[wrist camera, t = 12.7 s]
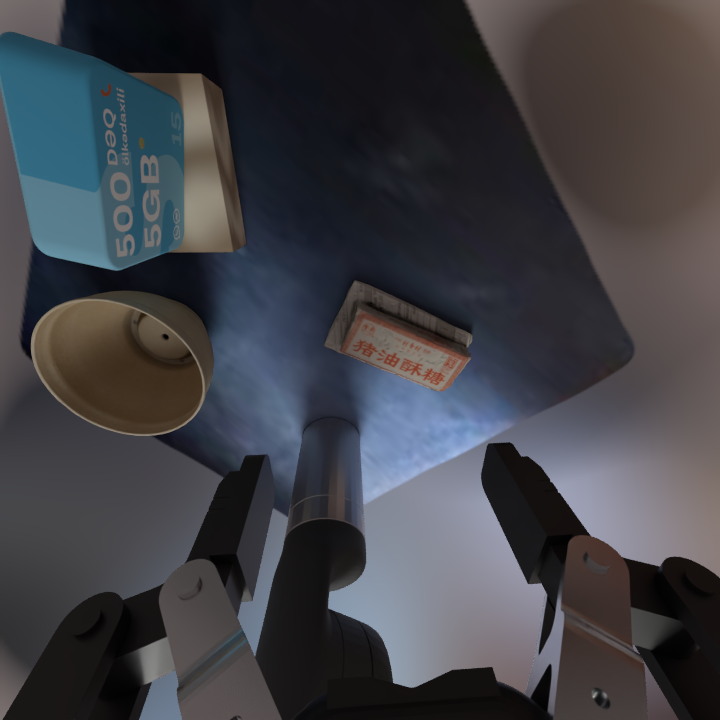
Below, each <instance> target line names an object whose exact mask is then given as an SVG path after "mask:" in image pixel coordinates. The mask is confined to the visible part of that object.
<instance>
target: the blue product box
mask: <svg viewBox="0 0 720 720" xmlns="http://www.w3.org/2000/svg"><path fill="white" fill-rule="evenodd" d="M0 90H1V94H2V99H3V103H4V109H5V113H6V118H7V123H8V127H9V132H10V137H11V141H12V146H13V151H14V155H15V160H16V165H17V169H18V174H19V179H20V184H21V188H22V193H23V197H24V203H25V207H26V212H27V217H28V221H29V226H30V231H31V235H32V238H33V241H34V243H35V245H36V246H37V247H38V249H39V250H40V251H42V252H43V253H44V254H46V255H48V256H51V257H56V258H60V259H65V260H69V261H74V262H79V263H83V264H88V265H92V266H97V267H101V268H106V269H110V270H116V271H117V270H122V269H125V268H127V267H130V266H133V265H135V264H138V263H140V262H143V261H146V260H148V259H151V258H154V257H156V256H159V255H162V254H164V253H167V252H169V251H172V250H175V249H177V248H178V247H179V246H180V245H181V243H182V241H183V237H184V121H183V114H182V110H181V107H180V104H179V103H178V101H177V100H176V99H175V98H174V97H173V96H171V95H169V94H167V93H165V92H163V91H161V90H159V89H158V88H156V87H154V86H152V85H150V84H148V83H146V82H144V81H142V80H140V79H138V78H136V77H134V76H132V75H130V74H128V73H126V72H124V71H122V70H120V69H118V68H116V67H114V66H112V65H111V64H109V63H107V62H105V61H103V60H101V59H99V58H96V57H93V56H90V55H86V54H83V53H80V52H77V51H73V50H70V49H67V48H64V47H60V46H57V45H54V44H51V43H47V42H44V41H41V40H37V39H34V38H31V37H27V36H25V35H21V34H18V33H15V32H5V33H2V34H1V35H0Z"/></svg>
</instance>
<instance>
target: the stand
mask: <svg viewBox="0 0 720 720" xmlns="http://www.w3.org/2000/svg"><path fill="white" fill-rule="evenodd" d="M128 74H130V75H132V76H134V77H136V78H138V79H140V80H142V81H144V82H146V83H148V84H150V85H152V86H154V87H156V88H158V89H159V90H161V91H163V92H165V93H167V94H169V95H171V96H173V97H174V98H175V99H176V100H177V101H178V103H179V104H180V107H181V110H182V114H183V121H184V237H183V241H182V243H181V245H180V246H179V247H178V248H177V249H175V250H172V251H169V252H167V253H171V252H234V251H236V250H238V249H239V248H241V247H243V246H244V245H246V244H247V243H246V237H245V231H244V225H243V218H242V212H241V206H240V200H239V193H238V187H237V181H236V175H235V168H234V162H233V156H232V150H231V143H230V137H229V131H228V125H227V118H226V112H225V106H224V100H223V93H222V89H221V88H219V87H218V86H217V85H215V84H214V83H213V82H211V81H210V80H209V79H207V78H206V77H205V76H204V75H202V74H185V73H128Z"/></svg>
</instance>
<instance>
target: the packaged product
mask: <svg viewBox="0 0 720 720" xmlns="http://www.w3.org/2000/svg"><path fill="white" fill-rule="evenodd" d="M471 342H472V335H471V334H470V333H468V332H466V331H464V330H462V329H459V328H457V327H454V326H452V325H451V324H449V323H447V322H445V321H443V320H441V319H439V318H438V317H436V316H434V315H431V314H429V313H427V312H425V311H423V310H421V309H419V308H417V307H415V306H413V305H411V304H409V303H407V302H405V301H403V300H401V299H399V298H396V297H394V296H392V295H390V294H388V293H386V292H383V291H381V290H379V289H377V288H374V287H372V286H370V285H368V284H365V283H362V282H360V281H357V280H355V281H354V283H353V284H352V286H351V287H350V289H349V291H348V293H347V296H346V298H345V301H344V303H343V305H342V307H341V309H340V311H339V312H338V314H337V316H336V318H335V320H334V322H333V324H332V326H331V328H330V330H329V333H328V336H327V339H326V342H325V345H324V347H327V348H330V349H332V350H335V351H336V352H339V353H341V354H344V355H347V356H350V357H352V358H355V359H357V360H359V361H362V362H364V363H367V364H369V365H372V366H374V367H377V368H379V369H381V370H384V371H386V372H390V373H394V374H395V375H397V376H399V377H402V378H404V379H407V380H409V381H412V382H414V383H417V384H419V385H422V386H424V387H427V388H429V389H432V390H434V391H444V390H445V389H447V388H448V387H450V386H451V385H452V383H453V382H454V380H455V379H456V377H457V376H458V374H459V373H461V372H462V370H463V369H464V368H465V366H466V364H467V363H468V362H469V361H470V360H471V356H470V355H471V354H470V353H469V352H468V349H467V347H468V346H469V345H470V343H471Z"/></svg>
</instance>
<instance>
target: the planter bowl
mask: <svg viewBox="0 0 720 720" xmlns="http://www.w3.org/2000/svg"><path fill="white" fill-rule="evenodd" d="M163 334H166V335H168V337H169V338H168V339H165V338H163ZM31 354H32V359H33V363H34V366H35V368H36V370H37V373H38V375H39V377H40V378H41V380H42V382H43V383H44V384H45V386H46V387H47V388H48V390H49V391H50V392H51V393H52V394H53V396H54V397H55V398H56V399H57V400H58V401H60V402H61V403H62V404H63V405H65V406H66V407H67V408H68V409H69V410H71V411H72V412H73V413H75V414H76V415H78V416H79V417H81V418H83V419H85V420H86V421H88V422H90V423H92V424H95V425H97V426H99V427H102V428H104V429H107V430H110V431H114V432H118V433H122V434H128V435H138V436H139V435H140V436H150V435H159V434H164V433H168V432H171V431H174V430H176V429H178V428H180V427H182V426H183V425H185V424H186V423H188V422H189V421H190V420H191V419H192V418H193V417H194V416H195V415H196V414H197V412H198V411H199V409H200V408H201V406H202V404H203V402H204V399H205V396H206V392H207V390H208V388H209V385H210V383H211V379H212V375H213V367H214V357H213V349H212V345H211V341H210V339H209V336H208V334H207V331H206V328H205V326H204V324H203V322H202V321H201V319H200V318H199V317H198V315H197V314H196V313H195V312H194V311H192V310H191V309H190V308H189V307H187V306H186V305H184V304H182V303H180V302H177V301H175V300H172V299H168V298H165V297H162V296H159V295H156V294H151V293H146V292H139V291H112V292H105V293H100V294H96V295H92V296H88V297H84V298H78V299H74V300H71V301H67V302H65V303H62V304H60V305H58V306H56V307H54V308H52V309H51V310H50V311H48V312H47V313H46V314H45V315H44V316H43V317H42V318H41V319H40V320H39V322H38V323H37V325H36V326H35V329H34V331H33V334H32V339H31Z"/></svg>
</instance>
